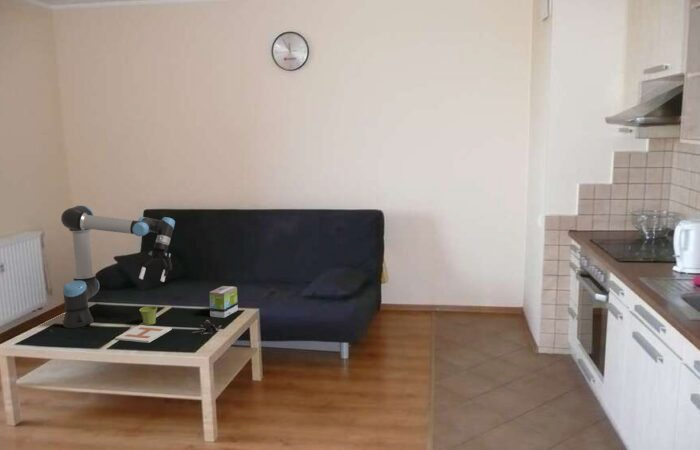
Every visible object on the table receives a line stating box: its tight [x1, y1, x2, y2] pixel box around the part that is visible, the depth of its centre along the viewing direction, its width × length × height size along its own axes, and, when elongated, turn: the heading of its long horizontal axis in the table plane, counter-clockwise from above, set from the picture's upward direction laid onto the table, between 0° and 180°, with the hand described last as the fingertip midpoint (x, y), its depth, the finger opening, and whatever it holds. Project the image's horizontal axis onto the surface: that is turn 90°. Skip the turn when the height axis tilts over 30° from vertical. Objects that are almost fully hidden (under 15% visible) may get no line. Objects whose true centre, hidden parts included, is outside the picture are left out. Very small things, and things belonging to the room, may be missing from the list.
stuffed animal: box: [191, 319, 222, 335], centre depth 302 cm, size 12×10×12 cm
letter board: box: [114, 324, 173, 344], centre depth 298 cm, size 20×20×1 cm
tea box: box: [209, 285, 239, 319], centre depth 330 cm, size 15×10×15 cm
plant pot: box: [139, 305, 158, 326], centre depth 315 cm, size 9×9×9 cm
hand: (151, 280), depth 316 cm, fingers open, 13 cm apart
